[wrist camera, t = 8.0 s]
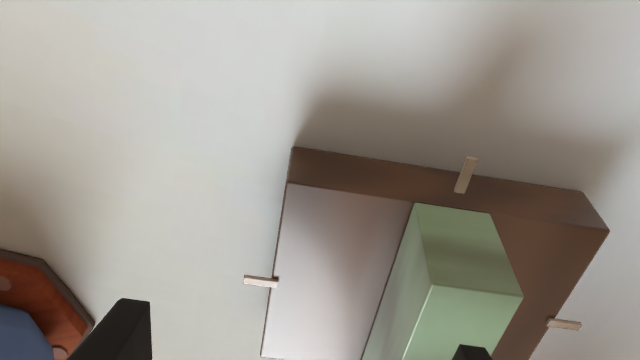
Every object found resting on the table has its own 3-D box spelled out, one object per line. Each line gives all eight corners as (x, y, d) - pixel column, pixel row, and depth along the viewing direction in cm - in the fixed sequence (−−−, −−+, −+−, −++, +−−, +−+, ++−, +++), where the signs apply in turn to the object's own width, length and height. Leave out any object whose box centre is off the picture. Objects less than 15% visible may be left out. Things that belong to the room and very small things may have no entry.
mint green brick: (414, 201, 17) (433, 289, 14) (490, 213, 18) (527, 303, 14) (357, 371, 23) (360, 465, 19) (415, 379, 23) (429, 473, 20)
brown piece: (635, 151, 19) (675, 191, 17) (501, 373, 27) (516, 420, 25) (269, 91, 18) (259, 125, 16) (241, 339, 26) (232, 384, 24)
